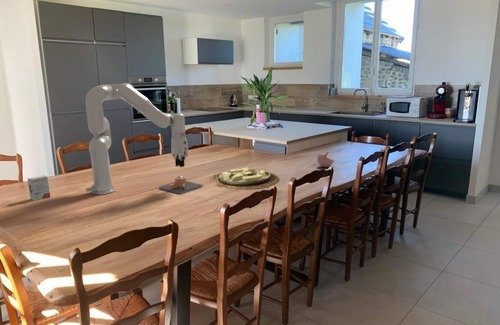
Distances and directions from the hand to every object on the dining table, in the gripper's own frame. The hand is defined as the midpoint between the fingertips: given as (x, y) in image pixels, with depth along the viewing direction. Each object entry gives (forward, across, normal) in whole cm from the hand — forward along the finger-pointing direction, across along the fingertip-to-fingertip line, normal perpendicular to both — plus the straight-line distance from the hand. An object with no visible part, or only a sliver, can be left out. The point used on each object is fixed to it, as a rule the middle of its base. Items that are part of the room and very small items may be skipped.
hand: (180, 166), depth 215 cm
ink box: (+13, +48, +58) cm, 76 cm away
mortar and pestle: (+13, -47, -97) cm, 109 cm away
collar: (+12, 0, +3) cm, 12 cm away
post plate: (+13, 0, 0) cm, 13 cm away
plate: (+14, -19, -37) cm, 44 cm away
